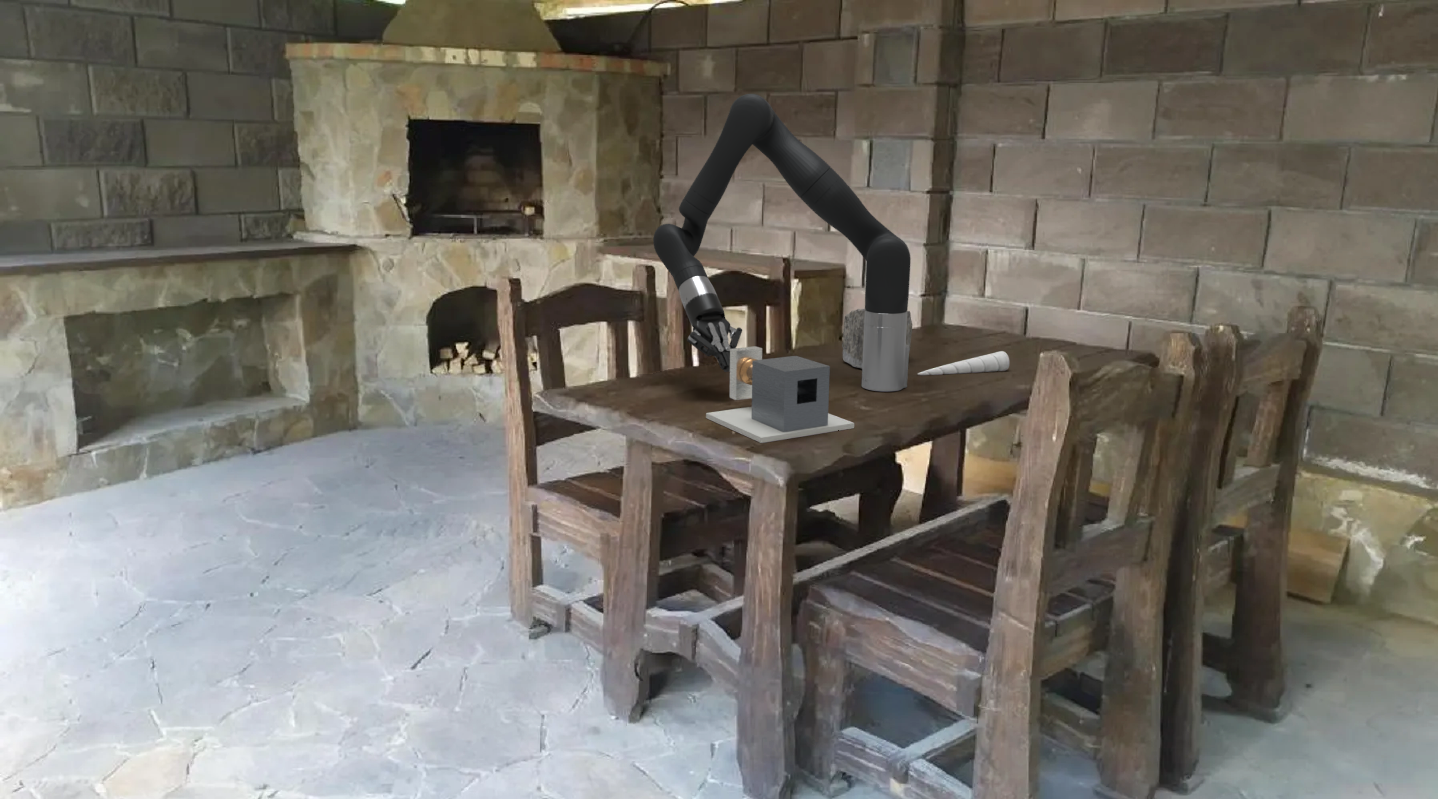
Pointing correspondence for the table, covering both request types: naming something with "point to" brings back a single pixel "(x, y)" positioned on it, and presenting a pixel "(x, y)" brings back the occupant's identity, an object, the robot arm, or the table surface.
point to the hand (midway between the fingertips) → (729, 369)
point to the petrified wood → (861, 336)
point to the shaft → (742, 371)
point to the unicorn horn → (973, 365)
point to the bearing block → (790, 393)
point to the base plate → (762, 433)
